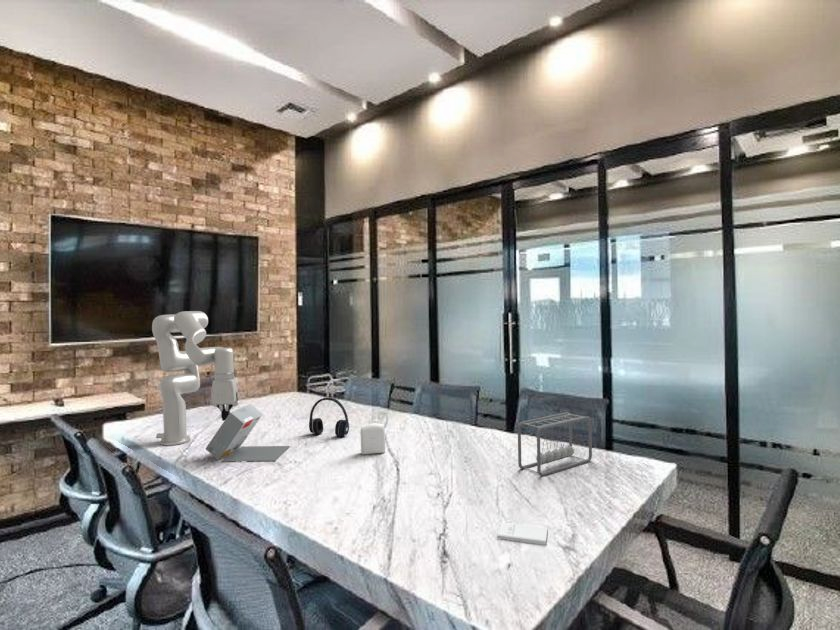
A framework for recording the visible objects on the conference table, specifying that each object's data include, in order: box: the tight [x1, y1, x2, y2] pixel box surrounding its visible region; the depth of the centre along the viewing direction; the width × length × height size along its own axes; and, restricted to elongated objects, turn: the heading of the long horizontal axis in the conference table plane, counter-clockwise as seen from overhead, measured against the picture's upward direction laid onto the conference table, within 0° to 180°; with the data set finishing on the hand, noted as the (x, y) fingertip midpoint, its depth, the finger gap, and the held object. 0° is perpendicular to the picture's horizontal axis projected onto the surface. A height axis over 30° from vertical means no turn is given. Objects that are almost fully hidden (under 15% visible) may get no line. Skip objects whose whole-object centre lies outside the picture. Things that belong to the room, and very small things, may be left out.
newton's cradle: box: [517, 411, 593, 477], centre depth 179 cm, size 30×10×18 cm, turn 124°
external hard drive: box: [496, 521, 549, 546], centre depth 125 cm, size 2×8×12 cm
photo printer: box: [360, 422, 386, 455], centre depth 199 cm, size 10×4×12 cm, turn 100°
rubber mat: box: [221, 445, 291, 463], centre depth 200 cm, size 22×20×1 cm
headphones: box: [308, 397, 350, 438], centre depth 227 cm, size 20×7×18 cm, turn 71°
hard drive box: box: [205, 403, 263, 461], centre depth 199 cm, size 16×8×20 cm
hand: (225, 419), depth 200 cm, fingers closed
